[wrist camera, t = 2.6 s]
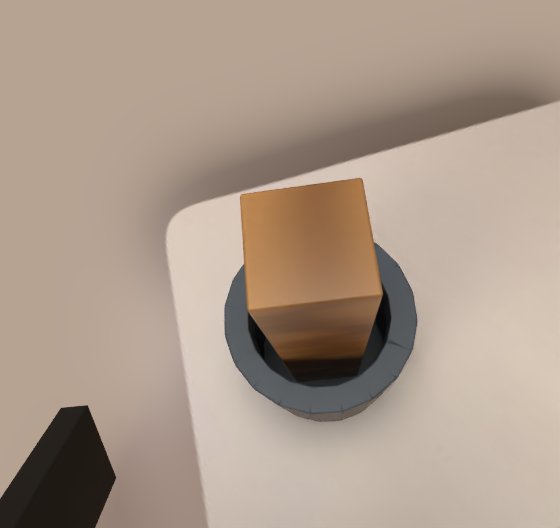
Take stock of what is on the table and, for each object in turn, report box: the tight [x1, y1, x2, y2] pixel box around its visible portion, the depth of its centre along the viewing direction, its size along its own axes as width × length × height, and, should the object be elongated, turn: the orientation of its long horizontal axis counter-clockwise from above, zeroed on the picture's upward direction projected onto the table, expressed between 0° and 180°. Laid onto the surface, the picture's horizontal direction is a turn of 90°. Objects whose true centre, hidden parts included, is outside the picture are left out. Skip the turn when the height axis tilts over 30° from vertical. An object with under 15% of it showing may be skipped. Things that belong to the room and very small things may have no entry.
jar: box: [225, 243, 417, 421], centre depth 27 cm, size 9×9×10 cm
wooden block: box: [240, 178, 383, 382], centre depth 22 cm, size 4×4×18 cm
